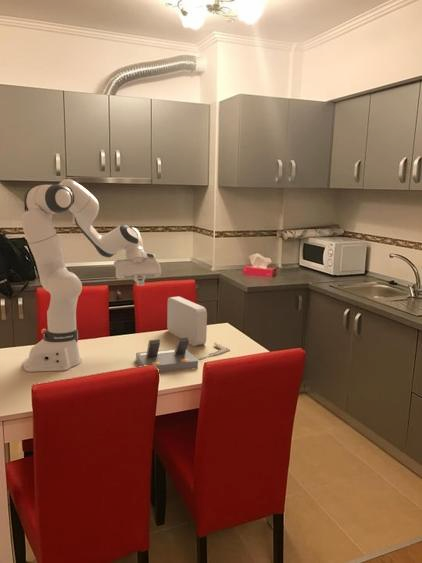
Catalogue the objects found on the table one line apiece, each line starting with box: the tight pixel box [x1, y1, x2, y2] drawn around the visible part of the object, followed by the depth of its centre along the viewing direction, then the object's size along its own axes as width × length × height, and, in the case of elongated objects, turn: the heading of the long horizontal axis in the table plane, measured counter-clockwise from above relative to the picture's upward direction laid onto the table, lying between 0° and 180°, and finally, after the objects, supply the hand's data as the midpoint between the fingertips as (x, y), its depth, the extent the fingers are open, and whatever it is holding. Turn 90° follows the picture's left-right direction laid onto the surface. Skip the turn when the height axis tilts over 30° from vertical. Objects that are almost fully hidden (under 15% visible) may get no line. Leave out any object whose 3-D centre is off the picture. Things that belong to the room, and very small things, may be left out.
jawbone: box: [197, 342, 231, 361], centre depth 205 cm, size 9×20×2 cm, turn 159°
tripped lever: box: [146, 339, 161, 358], centre depth 187 cm, size 5×2×10 cm
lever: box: [174, 337, 189, 355], centre depth 191 cm, size 5×2×10 cm
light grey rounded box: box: [166, 296, 208, 347], centre depth 224 cm, size 29×8×18 cm, turn 33°
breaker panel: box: [135, 348, 199, 374], centre depth 191 cm, size 22×16×3 cm
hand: (141, 284), depth 203 cm, fingers closed
